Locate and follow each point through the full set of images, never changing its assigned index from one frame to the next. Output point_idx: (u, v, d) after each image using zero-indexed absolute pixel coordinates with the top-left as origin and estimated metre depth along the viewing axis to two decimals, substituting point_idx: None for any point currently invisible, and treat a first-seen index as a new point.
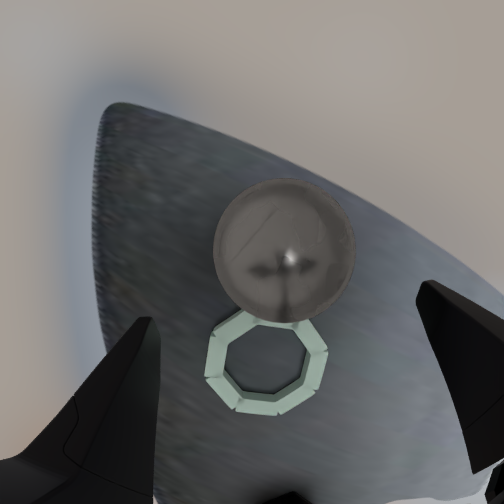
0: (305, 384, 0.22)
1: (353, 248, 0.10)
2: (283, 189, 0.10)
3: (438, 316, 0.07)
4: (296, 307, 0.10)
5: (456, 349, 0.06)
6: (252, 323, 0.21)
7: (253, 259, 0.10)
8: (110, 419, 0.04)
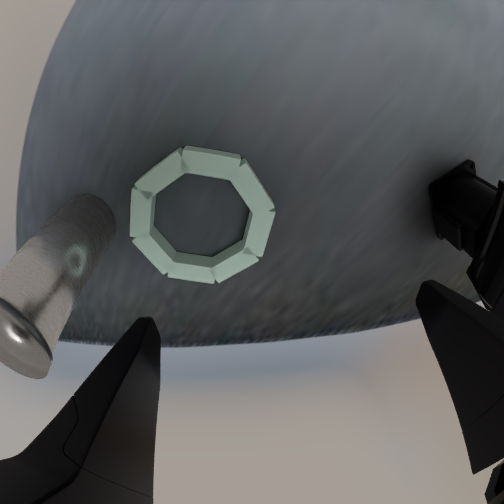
0: (229, 177, 0.17)
1: None
2: None
3: (438, 316, 0.07)
4: (28, 347, 0.09)
5: (456, 349, 0.06)
6: (148, 239, 0.19)
7: (20, 362, 0.09)
8: (110, 419, 0.04)
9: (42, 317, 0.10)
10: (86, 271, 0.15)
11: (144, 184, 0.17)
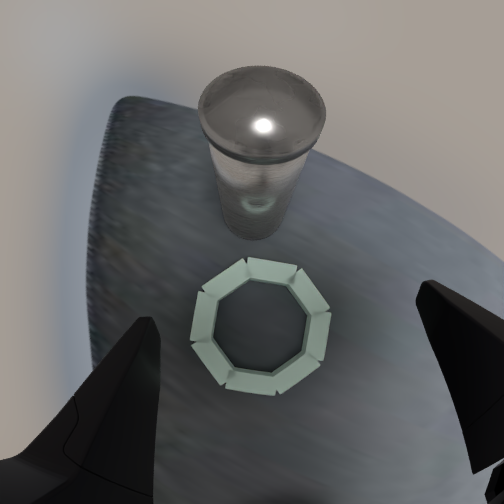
0: (307, 353, 0.19)
1: (324, 108, 0.11)
2: (258, 71, 0.11)
3: (438, 316, 0.07)
4: (273, 141, 0.10)
5: (456, 349, 0.06)
6: (244, 276, 0.20)
7: (232, 108, 0.10)
8: (110, 419, 0.04)
9: (279, 169, 0.11)
10: (250, 213, 0.17)
11: (301, 277, 0.20)
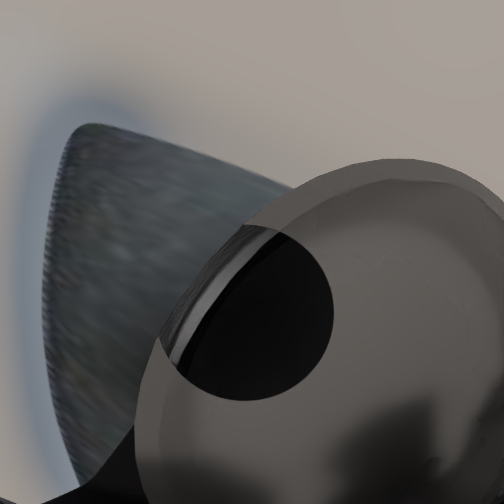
0: None
1: None
2: (430, 201, 0.02)
3: None
4: None
5: None
6: None
7: (316, 499, 0.01)
8: None
9: None
10: None
11: None
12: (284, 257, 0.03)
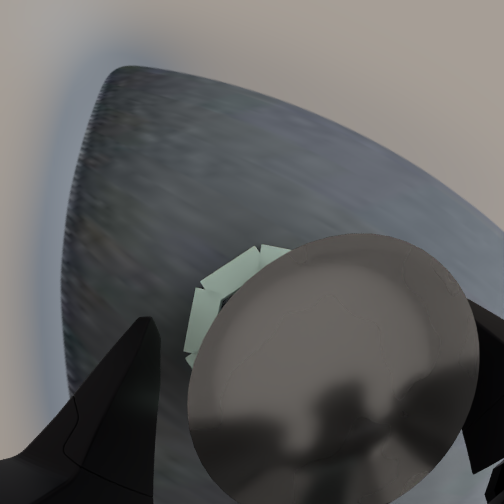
0: None
1: (473, 366, 0.04)
2: (359, 261, 0.04)
3: None
4: (369, 495, 0.03)
5: None
6: (256, 269, 0.16)
7: (287, 433, 0.03)
8: (110, 419, 0.04)
9: None
10: None
11: None
12: None
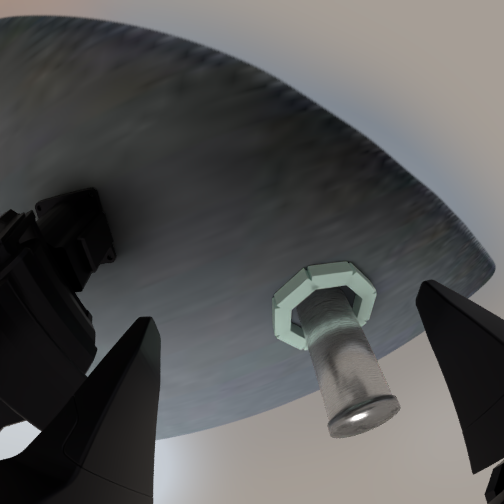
0: (289, 332, 0.26)
1: (340, 436, 0.17)
2: (384, 421, 0.16)
3: (438, 316, 0.07)
4: (343, 425, 0.15)
5: (456, 349, 0.06)
6: (359, 317, 0.26)
7: (376, 414, 0.15)
8: (110, 419, 0.04)
9: (331, 408, 0.16)
10: (322, 344, 0.20)
11: None
12: None
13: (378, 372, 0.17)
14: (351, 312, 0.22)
